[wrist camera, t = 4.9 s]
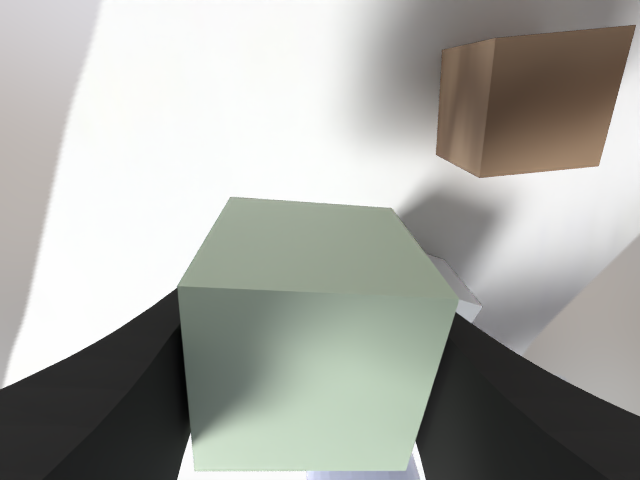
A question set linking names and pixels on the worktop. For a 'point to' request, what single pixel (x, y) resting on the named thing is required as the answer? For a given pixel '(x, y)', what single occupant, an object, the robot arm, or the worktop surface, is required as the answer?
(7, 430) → the robot arm
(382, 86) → the worktop surface
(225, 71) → the worktop surface
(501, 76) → the walnut cube
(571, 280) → the worktop surface
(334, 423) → the sage cube
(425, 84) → the worktop surface
